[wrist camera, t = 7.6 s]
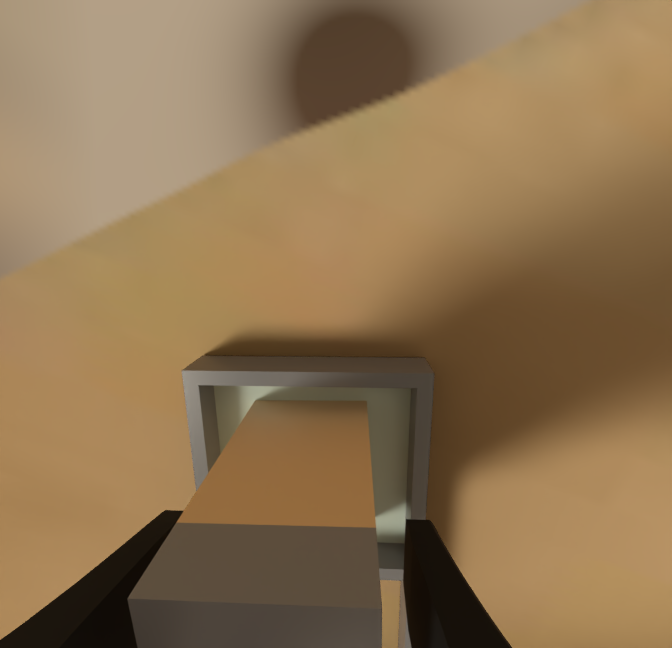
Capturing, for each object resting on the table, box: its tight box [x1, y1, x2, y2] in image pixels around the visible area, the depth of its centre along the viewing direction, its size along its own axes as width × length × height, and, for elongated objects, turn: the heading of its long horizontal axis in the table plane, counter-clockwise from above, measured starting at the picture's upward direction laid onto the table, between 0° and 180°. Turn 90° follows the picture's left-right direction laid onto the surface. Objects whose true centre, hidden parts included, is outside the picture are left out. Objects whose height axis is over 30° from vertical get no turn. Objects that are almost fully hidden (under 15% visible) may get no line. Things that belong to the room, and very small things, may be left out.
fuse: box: [127, 400, 382, 648], centre depth 9 cm, size 5×4×7 cm
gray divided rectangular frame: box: [182, 356, 434, 648], centre depth 13 cm, size 16×8×2 cm, turn 0°
